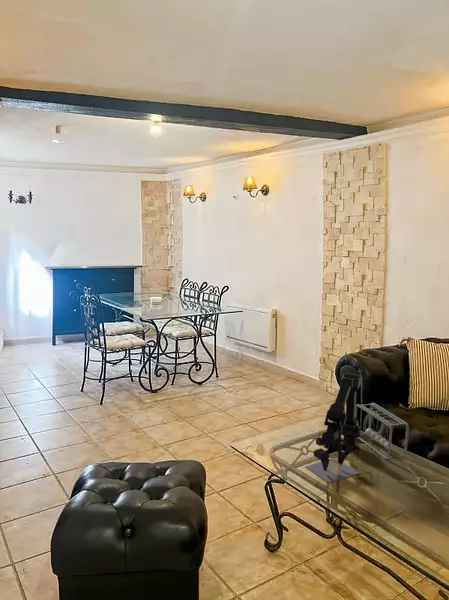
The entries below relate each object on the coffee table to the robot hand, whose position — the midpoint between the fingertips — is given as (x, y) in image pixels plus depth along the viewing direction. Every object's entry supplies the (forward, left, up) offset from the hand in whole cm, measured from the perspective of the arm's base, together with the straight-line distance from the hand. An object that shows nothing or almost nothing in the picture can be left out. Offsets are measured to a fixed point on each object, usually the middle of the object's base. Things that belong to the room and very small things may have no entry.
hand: (332, 468), depth 231 cm
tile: (0, 0, -1) cm, 1 cm away
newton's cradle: (-39, -8, -2) cm, 40 cm away
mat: (-1, -1, -2) cm, 2 cm away
